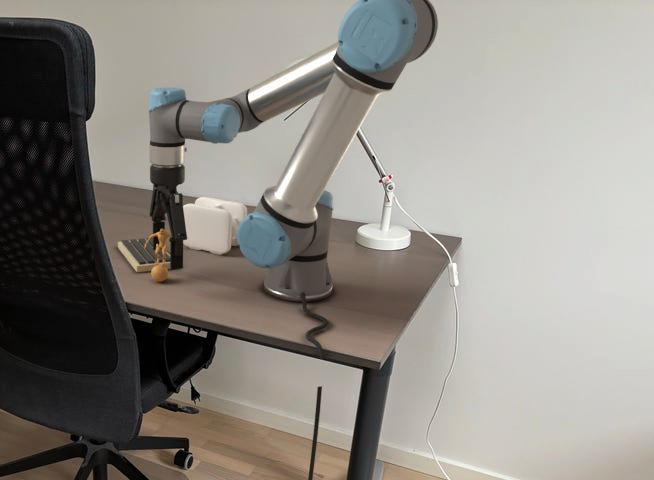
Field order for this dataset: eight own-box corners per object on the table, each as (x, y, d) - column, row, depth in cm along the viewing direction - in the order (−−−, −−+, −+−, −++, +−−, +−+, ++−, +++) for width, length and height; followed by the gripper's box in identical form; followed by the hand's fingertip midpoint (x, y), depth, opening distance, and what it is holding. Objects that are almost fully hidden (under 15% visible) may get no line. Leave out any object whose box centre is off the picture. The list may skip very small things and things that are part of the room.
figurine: (140, 282, 171) (139, 231, 166) (148, 273, 176) (147, 224, 171) (174, 286, 169) (174, 235, 164) (181, 277, 174) (182, 227, 169)
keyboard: (176, 268, 179) (176, 259, 178) (136, 272, 177) (136, 263, 176) (154, 244, 195) (154, 236, 194) (117, 247, 193) (117, 239, 192)
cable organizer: (177, 246, 194) (177, 203, 189) (198, 236, 202) (199, 194, 196) (227, 257, 187) (229, 212, 181) (247, 246, 195) (249, 202, 189)
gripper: (203, 176, 149) (201, 275, 159) (166, 152, 170) (167, 240, 180) (167, 178, 147) (168, 278, 157) (135, 153, 168) (137, 243, 178)
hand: (167, 258), depth 169 cm, fingers open, 13 cm apart
